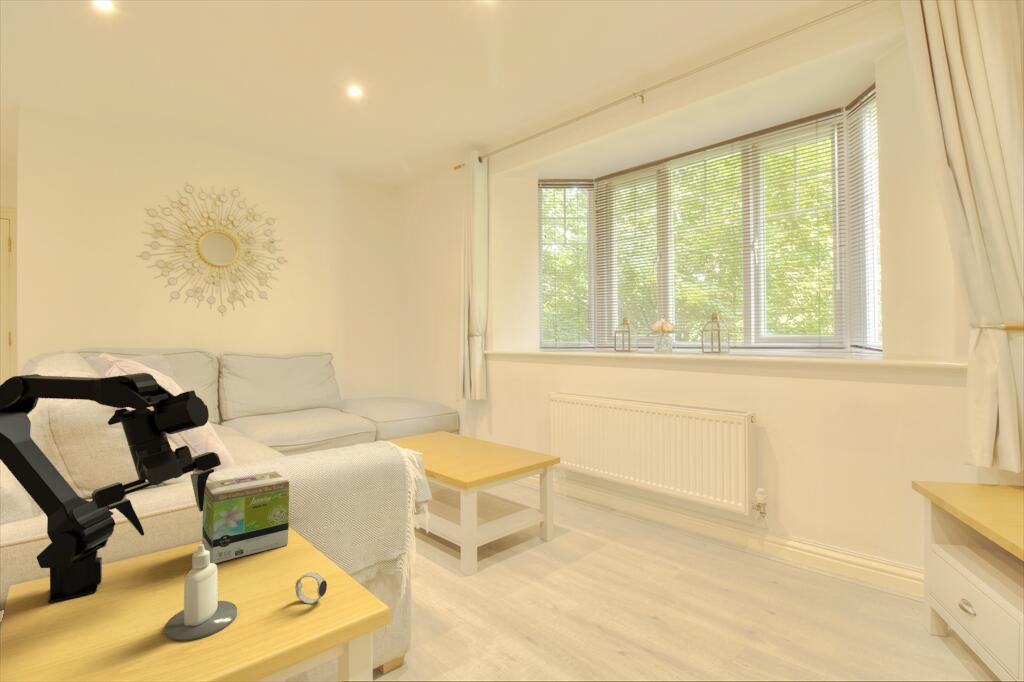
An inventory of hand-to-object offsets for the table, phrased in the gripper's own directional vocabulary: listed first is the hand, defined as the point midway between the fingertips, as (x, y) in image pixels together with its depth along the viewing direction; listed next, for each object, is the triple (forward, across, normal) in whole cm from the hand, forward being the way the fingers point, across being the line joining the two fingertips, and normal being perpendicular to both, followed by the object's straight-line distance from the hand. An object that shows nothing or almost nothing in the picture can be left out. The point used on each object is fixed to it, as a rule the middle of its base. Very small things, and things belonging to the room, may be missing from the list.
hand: (173, 522), depth 90 cm
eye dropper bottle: (+14, -2, -12) cm, 19 cm away
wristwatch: (+19, +13, -18) cm, 30 cm away
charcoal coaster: (+15, -2, -12) cm, 19 cm away
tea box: (+14, +13, +12) cm, 22 cm away
